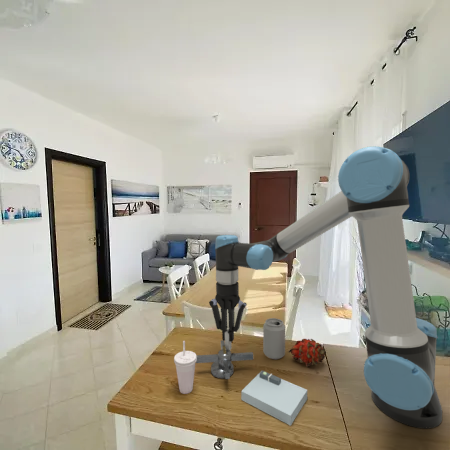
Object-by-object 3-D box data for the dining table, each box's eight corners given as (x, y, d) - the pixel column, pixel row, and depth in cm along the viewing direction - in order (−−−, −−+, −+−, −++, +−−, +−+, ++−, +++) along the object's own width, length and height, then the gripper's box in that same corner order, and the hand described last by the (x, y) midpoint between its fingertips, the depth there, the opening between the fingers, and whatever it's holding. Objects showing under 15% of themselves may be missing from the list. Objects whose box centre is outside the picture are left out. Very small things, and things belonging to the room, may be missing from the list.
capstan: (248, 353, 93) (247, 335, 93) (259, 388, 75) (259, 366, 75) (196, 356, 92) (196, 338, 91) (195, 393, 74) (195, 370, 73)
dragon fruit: (329, 371, 86) (291, 372, 88) (323, 345, 92) (288, 346, 95) (329, 359, 81) (289, 360, 83) (323, 332, 87) (286, 334, 90)
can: (285, 361, 88) (285, 327, 88) (262, 359, 90) (262, 325, 89) (284, 349, 96) (285, 317, 95) (263, 347, 97) (264, 316, 96)
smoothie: (188, 378, 80) (187, 334, 79) (201, 389, 76) (201, 341, 75) (170, 389, 76) (169, 341, 75) (183, 400, 71) (182, 350, 70)
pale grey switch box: (307, 398, 71) (307, 384, 71) (290, 425, 63) (290, 409, 62) (261, 378, 80) (261, 365, 80) (241, 399, 71) (241, 385, 71)
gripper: (248, 280, 90) (249, 347, 91) (213, 277, 94) (214, 341, 96) (242, 286, 83) (243, 359, 84) (204, 283, 87) (206, 352, 89)
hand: (228, 349), depth 90 cm, fingers closed
